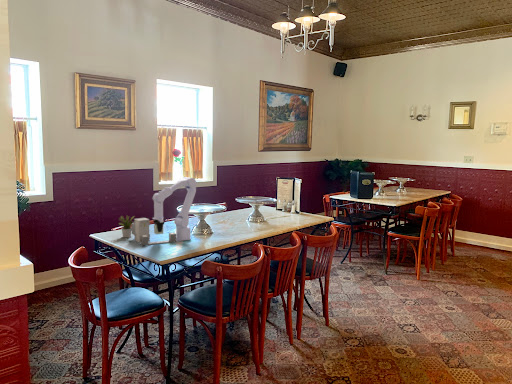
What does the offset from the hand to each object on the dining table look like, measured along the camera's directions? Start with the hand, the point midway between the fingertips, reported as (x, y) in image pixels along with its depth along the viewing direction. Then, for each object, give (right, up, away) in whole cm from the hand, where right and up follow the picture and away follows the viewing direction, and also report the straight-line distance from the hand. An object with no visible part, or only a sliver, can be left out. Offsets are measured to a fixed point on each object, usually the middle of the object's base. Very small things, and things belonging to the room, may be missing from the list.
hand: (158, 231), depth 259 cm
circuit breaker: (-15, -7, +10) cm, 19 cm away
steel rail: (0, -8, +1) cm, 8 cm away
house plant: (-28, -6, +16) cm, 33 cm away
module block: (0, -2, 0) cm, 2 cm away
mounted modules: (0, -8, +1) cm, 8 cm away
